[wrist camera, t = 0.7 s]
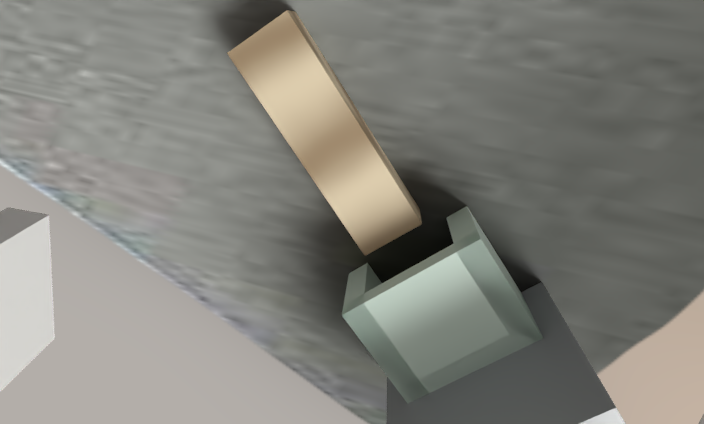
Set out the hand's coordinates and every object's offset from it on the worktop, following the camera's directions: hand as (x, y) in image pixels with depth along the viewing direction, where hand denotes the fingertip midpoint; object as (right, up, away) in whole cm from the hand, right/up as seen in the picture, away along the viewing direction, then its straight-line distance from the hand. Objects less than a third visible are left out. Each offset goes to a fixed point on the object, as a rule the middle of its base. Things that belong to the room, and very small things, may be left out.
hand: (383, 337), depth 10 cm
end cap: (+5, -2, +25) cm, 25 cm away
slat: (-2, +7, +22) cm, 23 cm away
